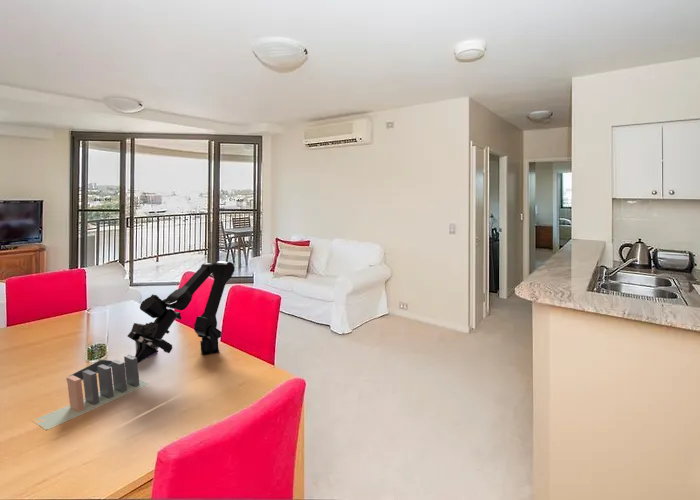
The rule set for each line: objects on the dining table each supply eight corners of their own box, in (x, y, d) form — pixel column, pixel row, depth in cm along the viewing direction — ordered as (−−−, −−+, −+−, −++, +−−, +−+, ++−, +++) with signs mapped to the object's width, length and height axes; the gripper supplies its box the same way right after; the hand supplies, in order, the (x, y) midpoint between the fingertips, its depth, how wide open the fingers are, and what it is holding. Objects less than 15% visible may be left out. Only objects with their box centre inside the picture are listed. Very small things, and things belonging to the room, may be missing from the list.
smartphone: (64, 378, 134) (101, 359, 148) (65, 380, 134) (101, 362, 148) (81, 380, 132) (116, 361, 146) (81, 383, 132) (116, 363, 146)
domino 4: (118, 386, 128) (116, 359, 126) (127, 390, 125) (124, 362, 124) (113, 389, 126) (111, 361, 125) (122, 392, 124) (119, 364, 122)
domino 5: (131, 381, 131) (128, 354, 130) (139, 385, 129) (137, 357, 127) (126, 383, 130) (124, 356, 128) (134, 387, 127) (132, 359, 126)
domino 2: (91, 398, 120) (87, 369, 119) (99, 402, 118) (96, 373, 116) (85, 401, 119) (82, 371, 117) (93, 405, 116) (90, 375, 115)
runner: (134, 378, 134) (134, 377, 134) (149, 384, 130) (149, 383, 130) (31, 421, 108) (31, 420, 108) (46, 431, 104) (46, 430, 104)
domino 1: (76, 405, 116) (72, 375, 115) (84, 409, 114) (81, 378, 113) (70, 407, 115) (66, 377, 114) (78, 412, 113) (75, 381, 111)
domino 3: (105, 392, 124) (102, 364, 123) (113, 396, 121) (111, 367, 120) (100, 394, 123) (97, 366, 121) (108, 398, 120) (105, 369, 119)
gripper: (130, 309, 136) (101, 348, 128) (162, 317, 127) (132, 360, 119) (152, 323, 144) (126, 361, 136) (183, 332, 135) (157, 373, 127)
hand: (134, 363), depth 129 cm, fingers closed
